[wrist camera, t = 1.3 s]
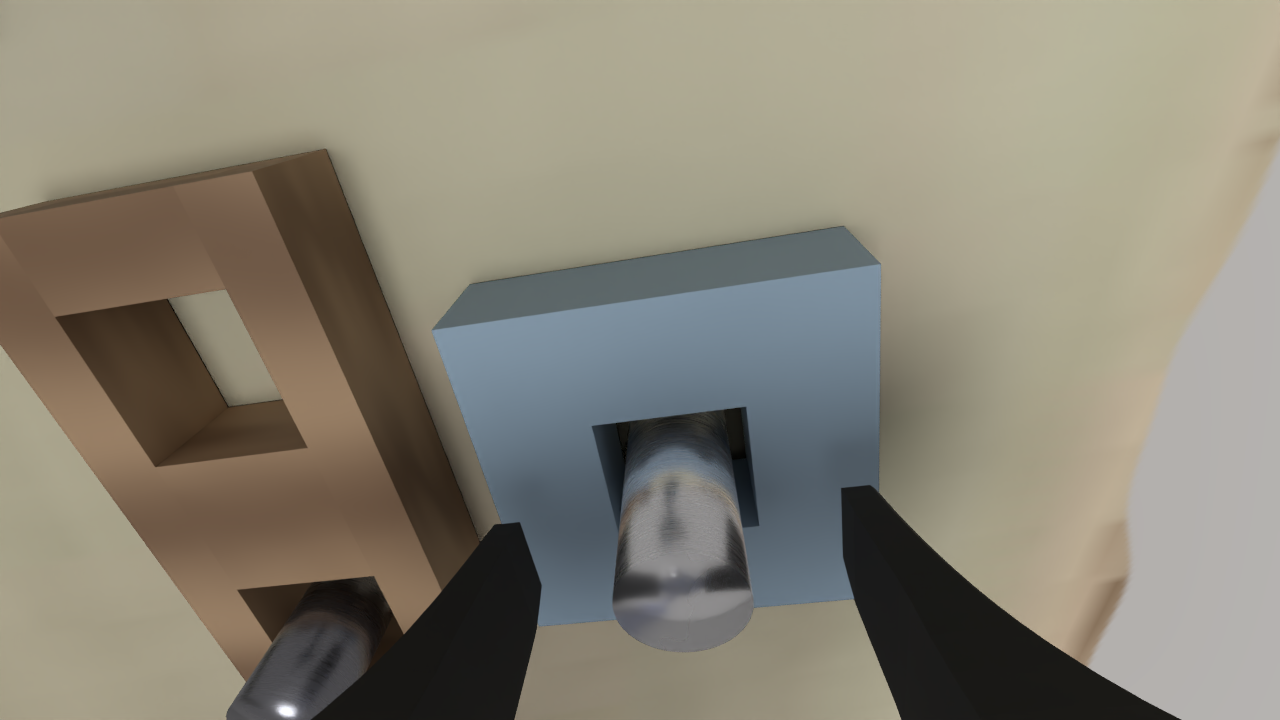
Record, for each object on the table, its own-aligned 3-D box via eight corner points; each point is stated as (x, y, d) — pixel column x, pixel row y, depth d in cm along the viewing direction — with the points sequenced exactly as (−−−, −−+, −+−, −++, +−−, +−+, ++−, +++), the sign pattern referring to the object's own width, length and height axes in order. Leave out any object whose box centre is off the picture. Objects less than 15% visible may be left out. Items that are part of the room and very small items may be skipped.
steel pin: (728, 446, 19) (759, 646, 12) (639, 457, 19) (625, 657, 13) (718, 367, 17) (747, 546, 11) (622, 380, 18) (599, 561, 12)
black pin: (425, 584, 22) (348, 755, 17) (354, 591, 22) (256, 761, 17) (398, 526, 21) (306, 691, 15) (323, 534, 21) (207, 699, 16)
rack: (516, 636, 23) (496, 713, 20) (322, 652, 24) (279, 728, 21) (325, 148, 15) (252, 171, 12) (44, 201, 16) (-81, 233, 13)
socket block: (849, 523, 20) (878, 597, 17) (555, 552, 21) (538, 626, 18) (843, 225, 15) (880, 263, 13) (469, 284, 16) (431, 330, 14)
